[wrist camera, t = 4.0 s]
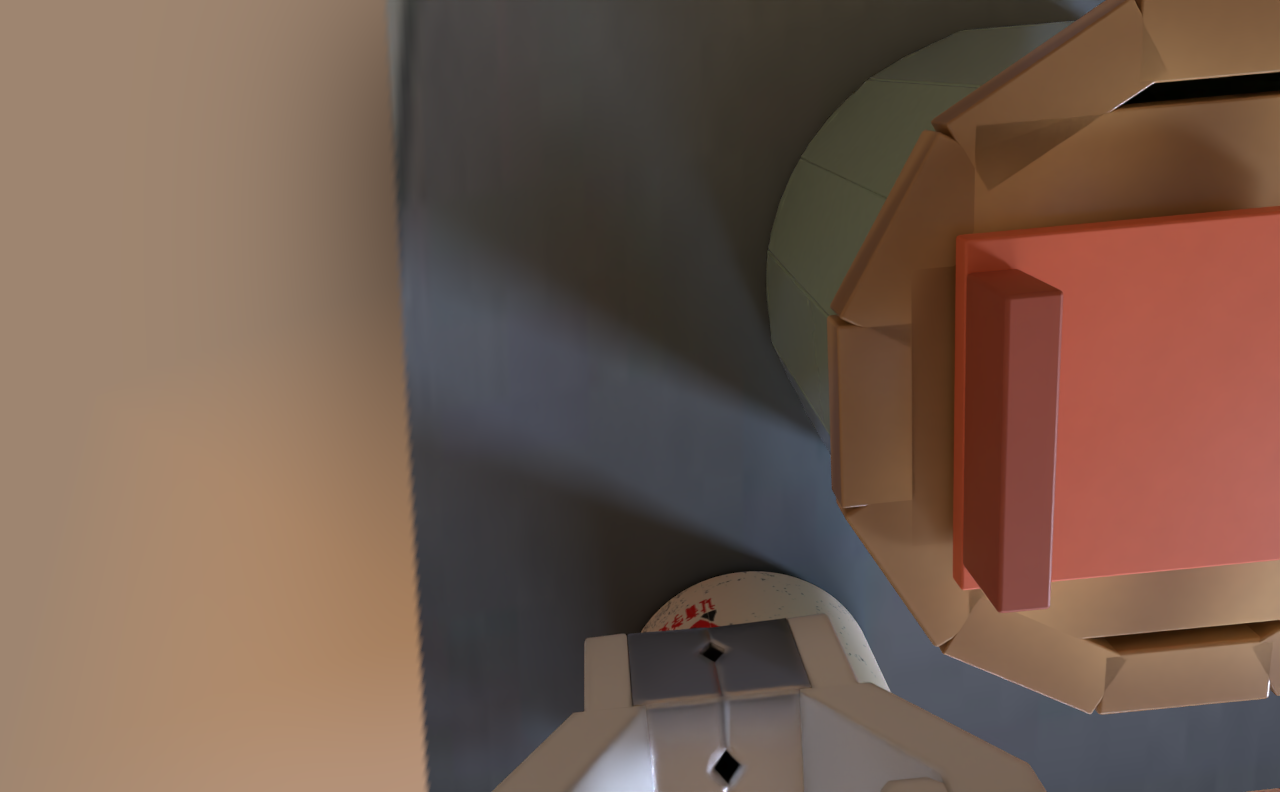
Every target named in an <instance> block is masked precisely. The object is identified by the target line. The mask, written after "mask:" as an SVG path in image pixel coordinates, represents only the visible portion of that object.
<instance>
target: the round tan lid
mask: <svg viewBox="0 0 1280 792" xmlns="http://www.w3.org/2000/svg"><path fill="white" fill-rule="evenodd" d="M1274 72H1280V0H1106V1H1104V2H1103V3H1101V4H1100V5H1098V6H1097V7H1095V8H1094V9H1092V10H1091V11H1090V12H1088V13H1087V14H1085V15H1084V16H1082V17H1081V18H1079V19H1078V20H1076V21H1075V22H1074V23H1072V24H1071V25H1069V26H1068V27H1066V28H1065V29H1063V30H1062V31H1060V32H1059V33H1058V34H1056V35H1055V36H1053V37H1052V38H1050V39H1049V40H1047V41H1046V42H1044V43H1043V44H1042V45H1040V46H1039V47H1037V48H1036V49H1034V50H1033V51H1031V52H1030V53H1028V54H1027V55H1026V56H1024V57H1023V58H1021V59H1020V60H1018V61H1017V62H1015V63H1014V64H1012V65H1011V66H1010V67H1008V68H1007V69H1005V70H1004V71H1002V72H1001V73H999V74H998V75H996V76H995V77H994V78H992V79H991V80H989V81H988V82H986V83H985V84H983V85H982V86H980V87H979V88H978V89H976V90H975V91H973V92H972V93H970V94H969V95H967V96H966V97H964V98H963V99H962V100H960V101H959V102H957V103H956V104H954V105H953V106H951V107H950V108H948V109H947V110H946V111H944V112H943V113H941V114H940V115H938V116H937V117H935V118H934V119H932V121H931V124H932V126H933V127H934V129H935V131H931V130H924V131H922V133H921V135H920V137H919V139H918V141H917V143H916V144H915V146H914V148H913V150H912V152H911V154H910V156H909V158H908V159H907V161H906V163H905V165H904V167H903V169H902V171H901V173H900V175H899V176H898V178H897V180H896V182H895V184H894V186H893V188H892V190H891V191H890V193H889V195H888V197H887V199H886V201H885V203H884V205H883V207H882V208H881V210H880V212H879V214H878V216H877V218H876V220H875V222H874V223H873V225H872V227H871V229H870V231H869V233H868V235H867V237H866V238H865V240H864V242H863V244H862V246H861V248H860V250H859V252H858V254H857V255H856V257H855V259H854V261H853V263H852V265H851V267H850V269H849V270H848V272H847V274H846V276H845V278H844V280H843V282H842V284H841V286H840V287H839V289H838V291H837V293H836V295H835V297H834V299H833V301H832V302H831V304H830V308H831V309H832V310H833V311H834V312H835V313H836V314H837V315H830V316H828V317H827V341H828V375H829V410H830V444H831V478H832V490H833V492H834V494H835V496H836V501H837V504H838V506H839V508H840V509H841V511H842V513H843V515H844V517H845V519H846V520H847V521H848V523H849V524H850V526H851V527H852V529H853V530H854V531H855V533H856V534H857V536H858V537H859V539H860V540H861V542H862V543H863V544H864V546H865V547H866V549H867V550H868V552H869V553H870V554H871V556H872V557H873V559H874V560H875V562H876V563H877V565H878V566H879V567H880V569H881V570H882V572H883V573H884V575H885V576H886V577H887V579H888V580H889V582H890V583H891V585H892V586H893V588H894V589H895V590H896V592H897V593H898V595H899V596H900V598H901V599H902V600H903V602H904V603H905V605H906V606H907V608H908V609H909V611H910V612H911V613H912V615H913V616H914V618H915V619H916V621H917V622H918V623H919V625H920V626H921V628H922V629H923V631H924V632H925V634H926V635H927V636H928V638H929V639H930V641H931V642H932V644H933V645H935V646H936V647H938V646H939V648H940V650H941V651H942V653H943V654H945V655H947V656H950V657H952V658H955V659H957V660H960V661H962V662H964V663H967V664H969V665H972V666H974V667H977V668H979V669H981V670H984V671H986V672H989V673H991V674H994V675H996V676H998V677H1001V678H1003V679H1006V680H1008V681H1011V682H1013V683H1015V684H1018V685H1020V686H1023V687H1025V688H1028V689H1030V690H1032V691H1035V692H1037V693H1040V694H1042V695H1045V696H1047V697H1049V698H1052V699H1054V700H1057V701H1059V702H1062V703H1064V704H1066V705H1069V706H1071V707H1074V708H1076V709H1079V710H1081V711H1083V712H1086V713H1088V714H1091V713H1092V712H1093V711H1094V709H1095V710H1096V711H1097V713H1099V714H1112V713H1123V712H1133V711H1143V710H1153V709H1163V708H1174V707H1184V706H1194V705H1204V704H1215V703H1225V702H1235V701H1245V700H1256V699H1266V698H1268V696H1269V691H1270V690H1271V691H1272V692H1273V693H1274V694H1275V695H1277V696H1279V695H1280V560H1274V561H1264V562H1253V563H1243V564H1233V565H1222V566H1212V567H1201V568H1191V569H1180V570H1170V571H1159V572H1149V573H1139V574H1128V575H1118V576H1107V577H1097V578H1086V579H1076V580H1066V581H1055V582H1051V598H1050V607H1049V608H1048V609H1041V610H1031V611H1020V612H1010V613H999V612H997V610H996V609H995V607H994V606H993V605H992V603H991V602H990V601H989V599H988V598H987V597H986V595H985V594H984V592H983V591H982V590H981V589H972V590H961V589H960V587H959V586H958V584H957V583H956V581H955V580H954V578H953V486H954V386H955V286H956V237H957V236H959V235H964V234H975V233H986V232H997V231H1008V230H1019V229H1030V228H1041V227H1052V226H1063V225H1074V224H1085V223H1096V222H1107V221H1118V220H1129V219H1140V218H1151V217H1162V216H1173V215H1184V214H1195V213H1206V212H1217V211H1228V210H1239V209H1250V208H1261V207H1272V206H1280V90H1278V91H1266V92H1255V93H1244V94H1233V95H1222V96H1211V97H1199V98H1188V99H1177V100H1166V101H1155V102H1144V103H1132V104H1124V103H1125V102H1127V101H1128V100H1130V99H1131V98H1133V97H1134V96H1136V95H1137V94H1139V93H1140V92H1142V91H1143V90H1145V89H1146V88H1148V87H1149V86H1150V85H1152V84H1153V83H1162V82H1173V81H1184V80H1195V79H1206V78H1218V77H1229V76H1240V75H1251V74H1262V73H1274Z"/></svg>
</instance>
